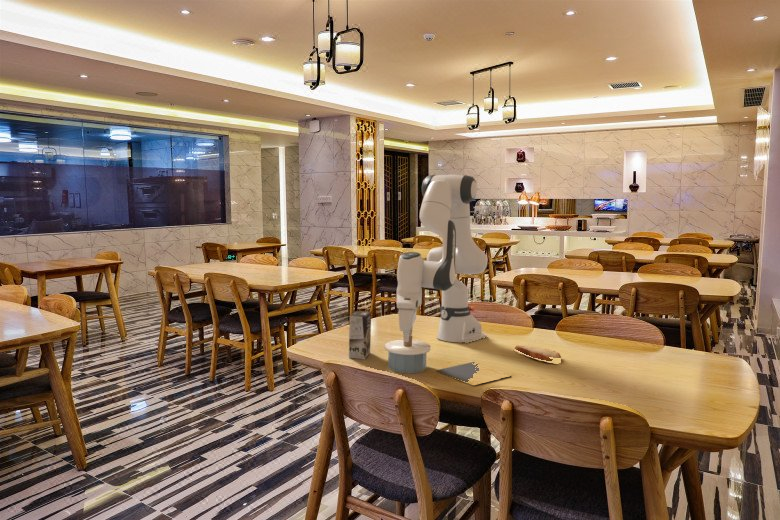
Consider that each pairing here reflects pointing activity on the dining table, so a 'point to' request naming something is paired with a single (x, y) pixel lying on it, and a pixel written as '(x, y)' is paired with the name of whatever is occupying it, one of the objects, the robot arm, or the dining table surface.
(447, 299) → the robot arm
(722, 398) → the dining table surface
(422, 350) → the lid
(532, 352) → the bread slice
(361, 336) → the coffee box
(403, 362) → the bowl
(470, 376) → the mat
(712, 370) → the dining table surface
